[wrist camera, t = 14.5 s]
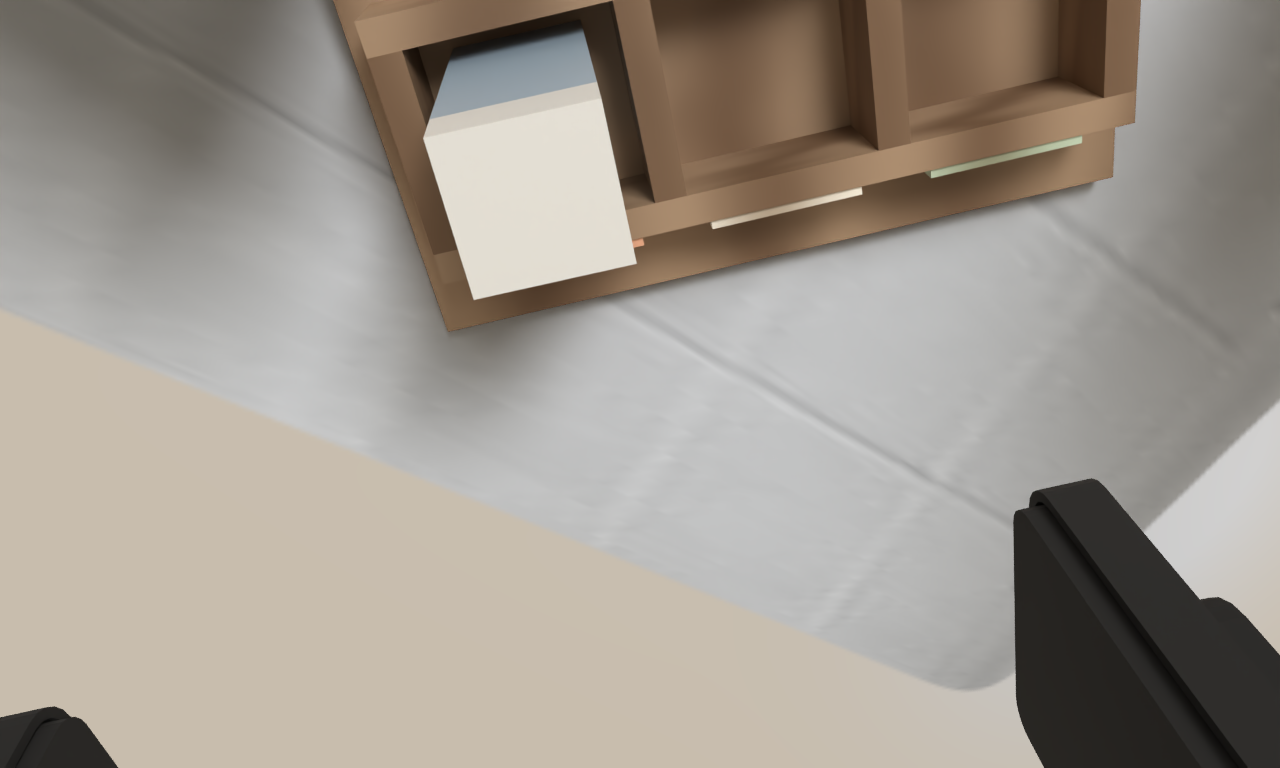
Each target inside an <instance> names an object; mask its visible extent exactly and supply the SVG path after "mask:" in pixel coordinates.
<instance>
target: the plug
mask: <svg viewBox="0 0 1280 768" xmlns="http://www.w3.org/2000/svg"><path fill="white" fill-rule="evenodd" d="M423 139H424V142H425V146H426V149H427V152H428V155H429V158H430V162H431V165H432V168H433V171H434V174H435V178H436V181H437V184H438V187H439V190H440V194H441V197H442V200H443V203H444V206H445V210H446V213H447V216H448V219H449V222H450V226H451V229H452V232H453V235H454V238H455V242H456V245H457V248H458V251H459V254H460V258H461V261H462V264H463V267H464V270H465V274H466V277H467V280H468V283H469V286H470V290H471V293H472V296H473V299H474V300H476V299H480V298H485V297H489V296H494V295H498V294H503V293H507V292H512V291H516V290H521V289H525V288H530V287H534V286H539V285H543V284H548V283H552V282H557V281H561V280H566V279H570V278H575V277H579V276H584V275H588V274H593V273H597V272H602V271H606V270H611V269H615V268H620V267H624V266H629V265H633V264H637V262H636V258H635V253H634V248H633V244H632V239H631V234H630V230H629V225H628V220H627V216H626V211H625V206H624V202H623V197H622V192H621V188H620V183H619V178H618V174H617V169H616V164H615V160H614V155H613V150H612V146H611V141H610V136H609V132H608V127H607V122H606V117H605V113H604V108H603V103H602V99H601V95H600V91H599V87H598V84H597V80H596V76H595V73H594V69H593V65H592V61H591V58H590V54H589V50H588V46H587V43H586V39H585V35H584V31H583V28H582V24H581V20H577V21H572V22H568V23H563V24H559V25H555V26H550V27H546V28H541V29H537V30H532V31H528V32H523V33H519V34H515V35H510V36H506V37H501V38H497V39H492V40H488V41H484V42H479V43H475V44H470V45H466V46H461V47H457V48H453V50H452V53H451V56H450V59H449V62H448V65H447V68H446V71H445V74H444V77H443V80H442V83H441V86H440V89H439V92H438V95H437V98H436V101H435V104H434V107H433V110H432V113H431V116H430V119H429V122H428V125H427V128H426V131H425V134H424V137H423Z"/></svg>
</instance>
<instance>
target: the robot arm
mask: <svg viewBox="0 0 1280 768" xmlns="http://www.w3.org/2000/svg"><path fill="white" fill-rule="evenodd" d="M1013 524H1014V592H1015V659H1016V700H1017V706H1018V711H1019V714H1020V718H1021V721H1022V724H1023V726H1024V729H1025V732H1026V733H1027V736H1028V738H1029V740H1030V742H1031V744H1032V746H1033V747H1034V749H1035V751H1036V753H1037V755H1038V757H1039V759H1040V760H1041V762H1042V764H1043V766H1044V768H1280V655H1279V654H1278V653H1277V651H1276V650H1275V649H1274V648H1273V647H1272V646H1271V645H1270V644H1269V642H1268V641H1267V640H1266V639H1265V638H1264V637H1263V636H1262V634H1261V633H1260V632H1259V631H1258V630H1257V629H1256V628H1255V627H1254V626H1253V624H1252V623H1251V622H1250V621H1249V620H1248V619H1247V618H1246V616H1244V615H1243V614H1242V613H1241V612H1240V611H1239V610H1238V609H1237V608H1236V607H1235V606H1234V605H1233V604H1231V603H1230V602H1227V601H1225V600H1223V599H1221V598H1219V597H1217V598H1216V597H1215V598H1206V599H1201V600H1200V599H1199V598H1198V597H1197V596H1196V595H1195V593H1194V592H1193V591H1192V590H1191V589H1190V588H1189V586H1188V585H1187V584H1186V583H1185V582H1184V580H1183V579H1182V578H1181V577H1180V576H1179V574H1178V573H1177V572H1176V571H1175V570H1174V569H1173V567H1172V566H1171V565H1170V564H1169V562H1168V561H1167V560H1166V559H1165V558H1164V557H1163V555H1162V554H1161V553H1160V552H1159V551H1158V549H1157V548H1156V547H1155V546H1154V545H1153V544H1152V542H1151V541H1150V540H1149V539H1148V538H1147V536H1146V535H1145V534H1144V533H1143V532H1142V530H1141V529H1140V528H1139V527H1138V526H1137V524H1136V523H1135V522H1134V521H1133V520H1132V519H1131V517H1130V516H1129V515H1128V514H1127V513H1126V511H1125V510H1124V509H1123V508H1122V507H1121V505H1120V504H1119V503H1118V502H1117V501H1116V500H1115V498H1114V497H1113V496H1112V495H1111V494H1110V492H1109V491H1108V490H1107V489H1106V488H1105V487H1104V486H1103V485H1102V484H1101V483H1100V482H1099V481H1098V480H1095V479H1092V478H1091V479H1087V480H1082V481H1078V482H1073V483H1069V484H1064V485H1059V486H1055V487H1050V488H1046V489H1041V490H1037V491H1034V492H1032V495H1031V497H1030V503H1029V508H1026V509H1021V510H1018V511H1016V512H1015V514H1014V522H1013ZM0 768H118V767H117V765H116V764H115V763H114V761H113V760H112V759H111V757H110V756H109V754H108V753H107V752H106V750H105V749H104V748H103V746H102V745H101V744H100V742H99V741H98V739H97V738H96V737H95V735H94V734H93V733H92V731H91V730H90V728H89V727H88V726H87V724H85V722H83V721H82V720H81V719H79V718H77V717H70V716H69V715H68V714H67V713H66V712H65V711H64V710H63V709H60V708H57V707H47V708H42V709H37V710H32V711H28V712H23V713H19V714H14V715H9V716H5V717H1V718H0Z"/></svg>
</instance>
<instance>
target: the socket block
mask: <svg viewBox="0 0 1280 768" xmlns="http://www.w3.org/2000/svg"><path fill="white" fill-rule="evenodd" d="M333 2H334V5H335V7H336V10H337V13H338V16H339V19H340V22H341V25H342V28H343V30H344V33H345V36H346V39H347V42H348V45H349V48H350V51H351V54H352V56H353V59H354V62H355V65H356V68H357V71H358V74H359V77H360V79H361V82H362V85H363V88H364V91H365V94H366V97H367V100H368V103H369V105H370V108H371V111H372V114H373V117H374V120H375V123H376V126H377V129H378V131H379V134H380V137H381V140H382V143H383V146H384V149H385V152H386V154H387V157H388V160H389V163H390V166H391V169H392V172H393V175H394V178H395V180H396V183H397V186H398V189H399V192H400V195H401V198H402V201H403V203H404V206H405V209H406V212H407V215H408V218H409V221H410V224H411V227H412V229H413V232H414V235H415V238H416V241H417V244H418V247H419V250H420V252H421V255H422V258H423V261H424V264H425V267H426V270H427V273H428V276H429V278H430V281H431V284H432V287H433V290H434V293H435V296H436V299H437V302H438V304H439V307H440V310H441V313H442V316H443V319H444V322H445V325H446V327H447V330H448V332H450V331H454V330H458V329H462V328H467V327H471V326H475V325H480V324H484V323H488V322H492V321H497V320H501V319H505V318H510V317H514V316H518V315H523V314H527V313H531V312H535V311H540V310H544V309H548V308H553V307H557V306H561V305H566V304H570V303H574V302H578V301H583V300H587V299H591V298H596V297H600V296H604V295H609V294H613V293H617V292H621V291H626V290H630V289H634V288H639V287H643V286H647V285H652V284H656V283H660V282H664V281H669V280H673V279H677V278H682V277H686V276H690V275H694V274H699V273H703V272H707V271H712V270H716V269H720V268H725V267H729V266H733V265H737V264H742V263H746V262H750V261H755V260H759V259H763V258H768V257H772V256H776V255H780V254H785V253H789V252H793V251H798V250H802V249H806V248H811V247H815V246H819V245H823V244H828V243H832V242H836V241H841V240H845V239H849V238H853V237H858V236H862V235H866V234H871V233H875V232H879V231H884V230H888V229H892V228H896V227H901V226H905V225H909V224H914V223H918V222H922V221H927V220H931V219H935V218H939V217H944V216H948V215H952V214H957V213H961V212H965V211H970V210H974V209H978V208H982V207H987V206H991V205H995V204H1000V203H1004V202H1008V201H1013V200H1017V199H1021V198H1025V197H1030V196H1034V195H1038V194H1043V193H1047V192H1051V191H1055V190H1060V189H1064V188H1068V187H1073V186H1077V185H1081V184H1086V183H1090V182H1094V181H1098V180H1103V179H1107V178H1111V177H1113V161H1114V136H1115V127H1119V126H1123V125H1127V124H1132V123H1135V106H1136V86H1137V66H1138V47H1139V27H1140V7H1141V0H333ZM577 20H581V24H582V28H583V31H584V35H585V39H586V43H587V46H588V50H589V54H590V58H591V61H592V65H593V69H594V73H595V76H596V80H597V84H598V87H599V91H600V95H601V99H602V103H603V108H604V113H605V117H606V122H607V127H608V132H609V136H610V141H611V146H612V150H613V155H614V160H615V164H616V169H617V174H618V178H619V183H620V188H621V192H622V197H623V202H624V206H625V211H626V216H627V220H628V225H629V230H630V234H631V239H632V244H633V248H634V253H635V258H636V262H637V264H633V265H629V266H624V267H620V268H615V269H611V270H606V271H602V272H597V273H593V274H588V275H584V276H579V277H575V278H570V279H566V280H561V281H557V282H552V283H548V284H543V285H539V286H534V287H530V288H525V289H521V290H516V291H512V292H507V293H503V294H498V295H494V296H489V297H485V298H480V299H476V300H474V299H473V296H472V293H471V290H470V286H469V283H468V280H467V277H466V274H465V270H464V267H463V264H462V261H461V258H460V254H459V251H458V248H457V245H456V242H455V238H454V235H453V232H452V229H451V226H450V222H449V219H448V216H447V213H446V210H445V206H444V203H443V200H442V197H441V194H440V190H439V187H438V184H437V181H436V178H435V174H434V171H433V168H432V165H431V162H430V158H429V155H428V152H427V149H426V146H425V142H424V139H423V137H424V134H425V131H426V128H427V125H428V122H429V119H430V116H431V113H432V110H433V107H434V104H435V101H436V98H437V95H438V92H439V89H440V86H441V83H442V80H443V77H444V74H445V71H446V68H447V65H448V62H449V59H450V56H451V53H452V50H453V48H457V47H461V46H466V45H470V44H475V43H479V42H484V41H488V40H492V39H497V38H501V37H506V36H510V35H515V34H519V33H523V32H528V31H532V30H537V29H541V28H546V27H550V26H555V25H559V24H563V23H568V22H572V21H577Z"/></svg>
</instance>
